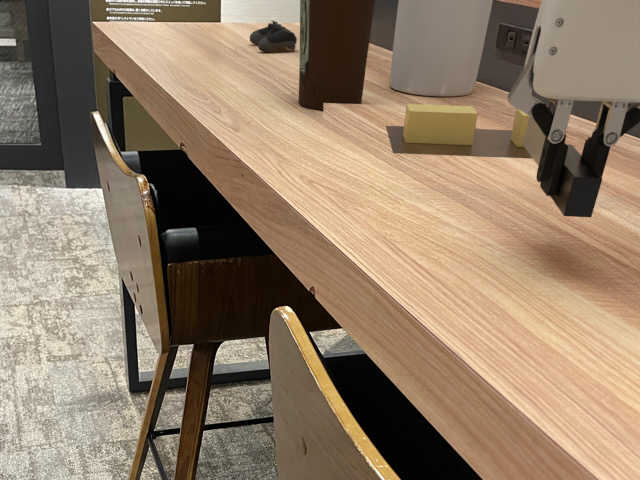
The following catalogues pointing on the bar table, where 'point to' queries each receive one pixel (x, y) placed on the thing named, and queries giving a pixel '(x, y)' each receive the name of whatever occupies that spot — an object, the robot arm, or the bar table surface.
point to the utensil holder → (438, 46)
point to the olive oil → (333, 51)
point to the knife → (567, 176)
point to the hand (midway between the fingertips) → (564, 190)
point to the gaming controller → (273, 38)
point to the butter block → (439, 124)
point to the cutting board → (483, 145)
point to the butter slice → (519, 128)
